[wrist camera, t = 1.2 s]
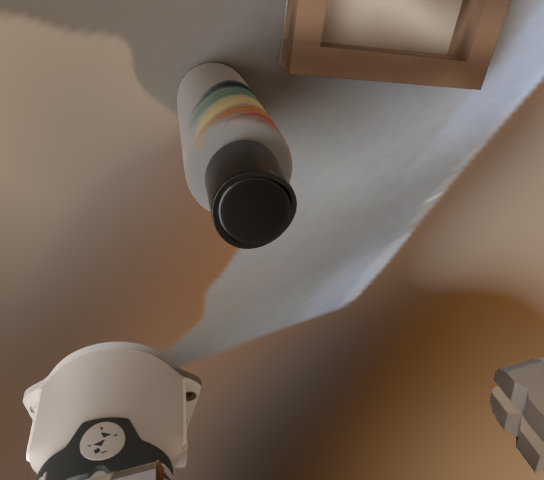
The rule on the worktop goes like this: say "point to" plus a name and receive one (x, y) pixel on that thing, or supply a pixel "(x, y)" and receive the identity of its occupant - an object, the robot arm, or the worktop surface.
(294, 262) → the worktop surface
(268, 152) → the lotion bottle
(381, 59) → the brown square shallow frame
